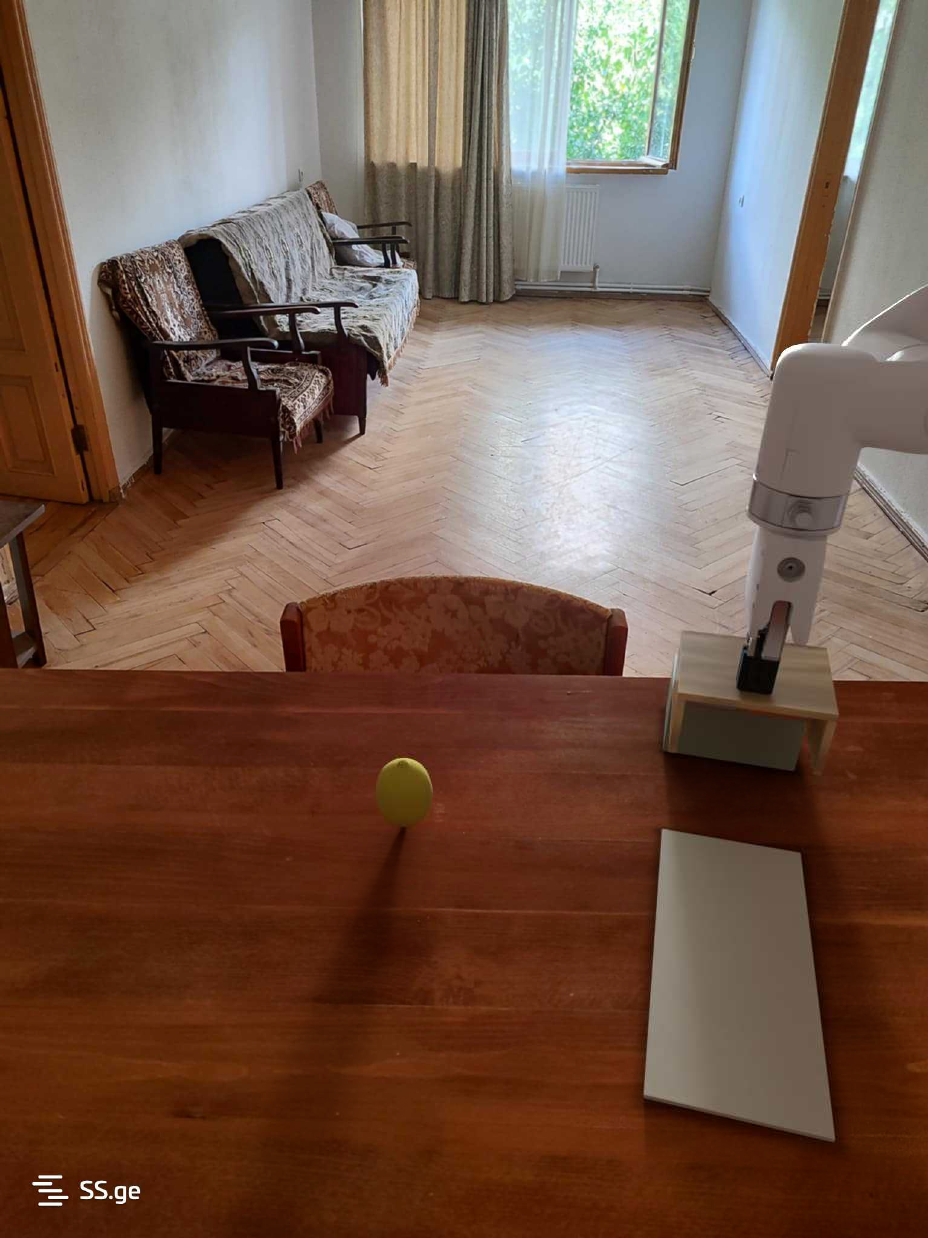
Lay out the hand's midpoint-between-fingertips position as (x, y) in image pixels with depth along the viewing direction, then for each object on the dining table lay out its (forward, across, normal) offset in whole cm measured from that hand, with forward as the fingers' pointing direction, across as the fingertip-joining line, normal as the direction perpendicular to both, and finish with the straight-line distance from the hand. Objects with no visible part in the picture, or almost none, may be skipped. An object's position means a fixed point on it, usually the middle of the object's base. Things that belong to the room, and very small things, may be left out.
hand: (753, 687), depth 81 cm
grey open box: (+16, +13, -1) cm, 20 cm away
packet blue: (+5, +8, +3) cm, 10 cm away
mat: (+16, -18, 0) cm, 24 cm away
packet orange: (+5, +8, -4) cm, 10 cm away
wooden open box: (+4, +9, 0) cm, 10 cm away
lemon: (+16, -9, +31) cm, 36 cm away
